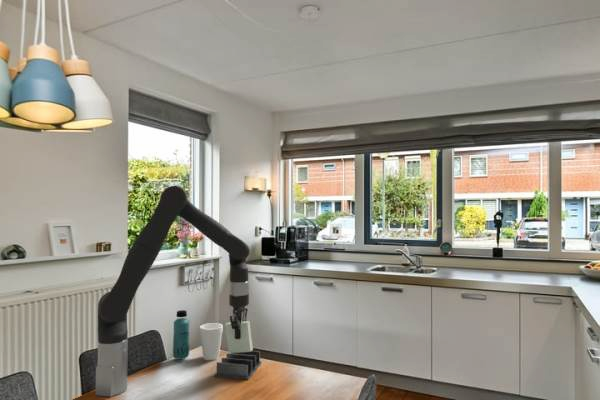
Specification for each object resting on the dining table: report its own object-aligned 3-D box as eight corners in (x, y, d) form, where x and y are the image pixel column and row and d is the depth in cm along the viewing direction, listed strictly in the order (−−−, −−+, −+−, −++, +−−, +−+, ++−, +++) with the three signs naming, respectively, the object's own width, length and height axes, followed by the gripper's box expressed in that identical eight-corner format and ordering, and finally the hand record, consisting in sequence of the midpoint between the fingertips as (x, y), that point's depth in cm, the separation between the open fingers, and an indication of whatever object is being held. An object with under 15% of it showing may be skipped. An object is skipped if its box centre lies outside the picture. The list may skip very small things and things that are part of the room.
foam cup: (227, 356, 173) (227, 325, 173) (211, 363, 165) (211, 330, 165) (210, 352, 178) (211, 321, 178) (194, 358, 170) (195, 327, 170)
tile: (250, 351, 156) (247, 322, 157) (228, 353, 158) (225, 324, 158) (252, 349, 159) (249, 320, 159) (231, 350, 161) (227, 322, 161)
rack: (248, 379, 149) (248, 366, 149) (214, 376, 152) (214, 363, 152) (261, 363, 165) (261, 351, 165) (230, 360, 167) (230, 348, 168)
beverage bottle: (169, 360, 167) (169, 311, 168) (181, 355, 173) (181, 308, 174) (181, 363, 164) (181, 313, 165) (192, 358, 170) (193, 310, 171)
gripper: (236, 288, 166) (236, 331, 166) (222, 296, 153) (222, 342, 153) (254, 289, 165) (254, 332, 165) (242, 297, 151) (242, 344, 151)
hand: (239, 337), depth 159 cm, fingers closed on tile, 2 cm apart
